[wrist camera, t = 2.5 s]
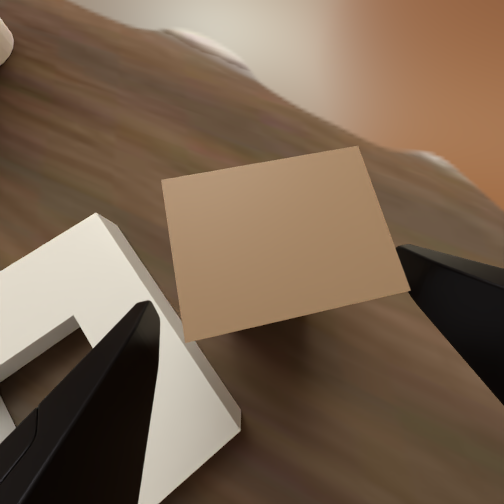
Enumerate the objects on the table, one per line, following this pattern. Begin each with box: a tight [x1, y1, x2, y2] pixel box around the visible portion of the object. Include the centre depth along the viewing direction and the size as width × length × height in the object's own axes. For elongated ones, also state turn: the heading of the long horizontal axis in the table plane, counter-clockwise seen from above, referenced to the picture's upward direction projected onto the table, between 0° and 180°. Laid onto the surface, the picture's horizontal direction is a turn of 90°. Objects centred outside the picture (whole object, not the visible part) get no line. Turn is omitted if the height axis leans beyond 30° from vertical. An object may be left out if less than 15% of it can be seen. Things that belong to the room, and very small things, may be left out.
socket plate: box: [0, 213, 241, 504], centre depth 14 cm, size 16×16×2 cm
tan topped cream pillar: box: [161, 146, 411, 343], centre depth 12 cm, size 4×6×11 cm
